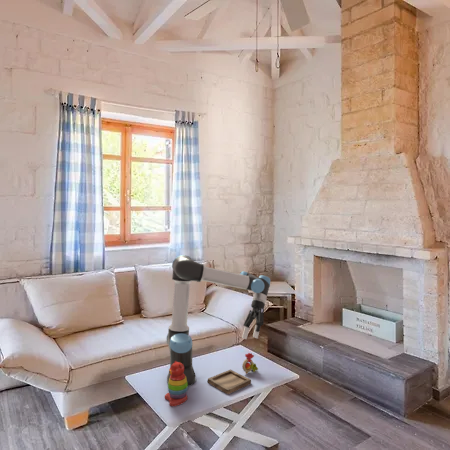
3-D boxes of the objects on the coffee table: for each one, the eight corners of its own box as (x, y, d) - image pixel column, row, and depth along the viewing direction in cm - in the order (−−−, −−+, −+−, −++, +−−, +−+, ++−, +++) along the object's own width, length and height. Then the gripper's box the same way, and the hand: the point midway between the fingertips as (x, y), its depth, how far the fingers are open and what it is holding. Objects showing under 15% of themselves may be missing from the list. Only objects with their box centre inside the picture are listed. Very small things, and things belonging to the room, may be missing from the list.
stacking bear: (163, 396, 176) (163, 360, 175) (183, 391, 181) (182, 356, 180) (171, 407, 167) (170, 369, 166) (191, 401, 171) (191, 365, 170)
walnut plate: (207, 382, 190) (207, 378, 190) (230, 373, 200) (230, 369, 200) (228, 394, 178) (228, 390, 178) (251, 383, 188) (251, 379, 188)
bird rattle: (250, 379, 198) (261, 368, 203) (244, 363, 195) (255, 352, 200) (242, 375, 203) (253, 364, 208) (236, 359, 199) (247, 349, 205)
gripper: (275, 301, 201) (266, 339, 192) (254, 306, 223) (245, 340, 214) (263, 296, 199) (253, 335, 190) (244, 301, 221) (234, 336, 212)
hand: (249, 338), depth 202 cm, fingers open, 13 cm apart
